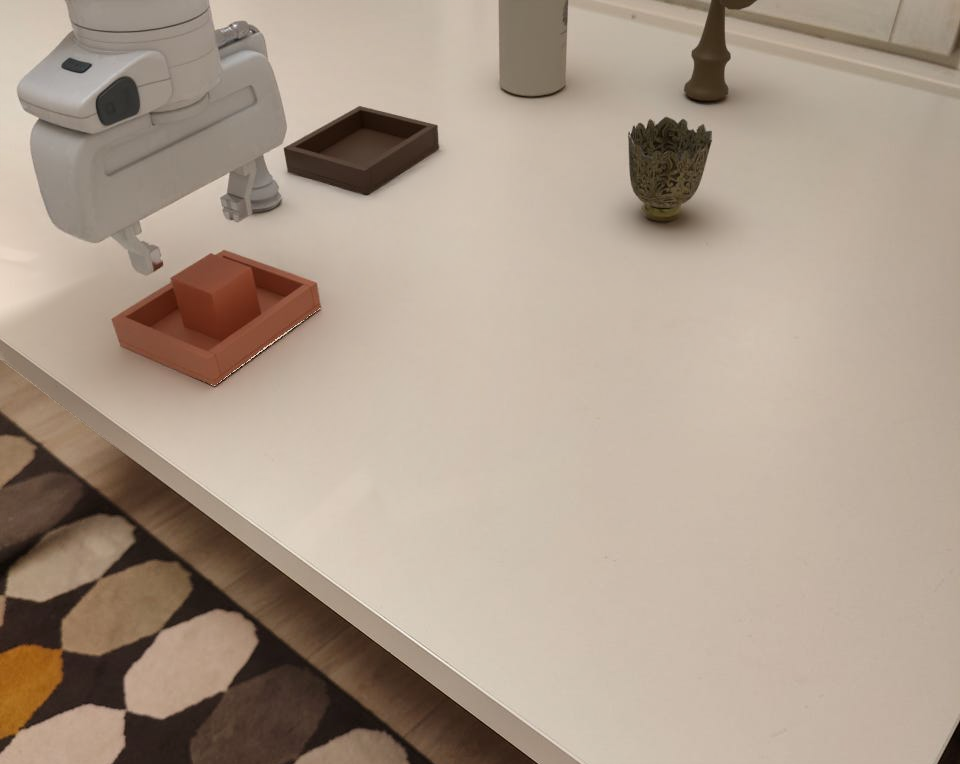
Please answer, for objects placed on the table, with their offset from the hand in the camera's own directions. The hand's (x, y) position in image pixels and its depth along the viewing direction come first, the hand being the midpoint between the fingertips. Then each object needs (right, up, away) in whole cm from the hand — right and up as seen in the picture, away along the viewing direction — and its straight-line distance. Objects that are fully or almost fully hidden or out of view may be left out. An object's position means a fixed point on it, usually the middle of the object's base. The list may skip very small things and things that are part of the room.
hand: (195, 242), depth 73 cm
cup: (+39, +7, +17) cm, 43 cm away
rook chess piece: (0, +9, +21) cm, 23 cm away
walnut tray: (+10, +16, +28) cm, 33 cm away
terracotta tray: (+1, -6, +5) cm, 8 cm away
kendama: (+48, +27, +38) cm, 67 cm away
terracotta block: (+1, -5, +5) cm, 7 cm away
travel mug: (+28, +29, +42) cm, 59 cm away
